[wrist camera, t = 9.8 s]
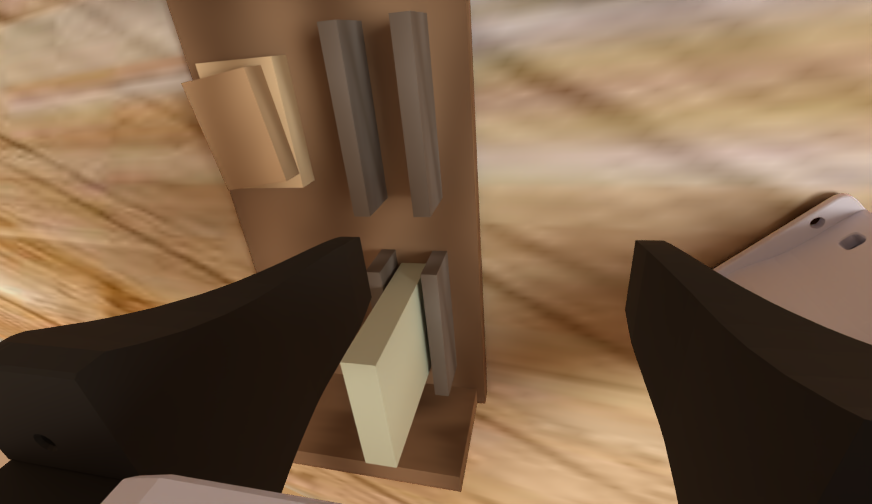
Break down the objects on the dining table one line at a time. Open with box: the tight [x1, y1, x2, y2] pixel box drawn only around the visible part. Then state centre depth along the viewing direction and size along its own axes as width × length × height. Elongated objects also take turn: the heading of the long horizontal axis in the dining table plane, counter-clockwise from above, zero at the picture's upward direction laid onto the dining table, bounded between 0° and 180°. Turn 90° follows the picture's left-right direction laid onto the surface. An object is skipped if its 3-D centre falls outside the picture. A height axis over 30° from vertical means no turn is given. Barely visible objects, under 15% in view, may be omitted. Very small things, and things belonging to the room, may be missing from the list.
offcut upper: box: [181, 65, 300, 190], centre depth 19 cm, size 3×5×1 cm
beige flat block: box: [340, 263, 432, 468], centre depth 21 cm, size 2×6×8 cm, turn 5°
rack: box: [166, 0, 487, 492], centre depth 20 cm, size 14×26×7 cm, turn 5°
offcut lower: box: [195, 55, 315, 188], centre depth 20 cm, size 4×6×1 cm, turn 5°
